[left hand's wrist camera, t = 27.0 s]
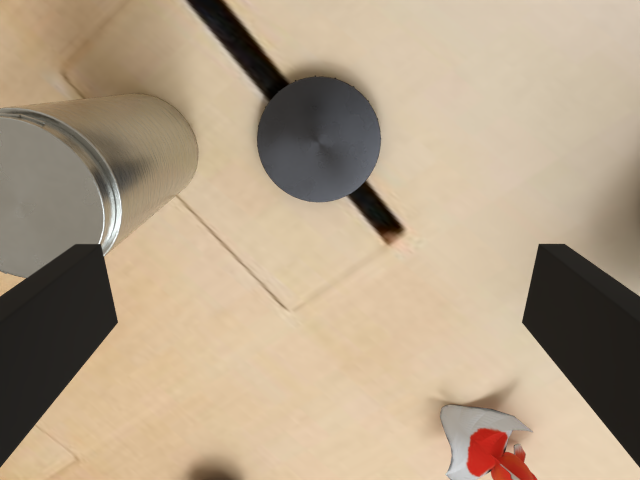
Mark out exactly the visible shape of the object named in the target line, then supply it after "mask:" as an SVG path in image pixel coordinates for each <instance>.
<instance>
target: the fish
mask: <svg viewBox="0 0 640 480" xmlns="http://www.w3.org/2000/svg"><path fill="white" fill-rule="evenodd" d="M440 418H441V422H442V425H443V428H444V431H445V434H446V436H447V439H448V441H449V444H450V446H451V452H452V458H451V464H450V467H449V469H448V472H447V473H446V474H445V475H446V476H447V477H448V478H449V479H450V480H477V479H478V478H480V477H482V476H484V475H485V474H487V473H489V472H490V471H491V475H492V478H493V480H537V478H536V477H535V476H534V475H533V474H532V473H531V472H530V470H529V468H528V467H527V466H526V464H525V463H524V460H525V452H524V451H523V449H522V447H521V445H520V444H516V445H514V454H512V453H509V452H505V450H506V446H507V442H508V438H509V436H510V434H511V433H512V431H513V430H524V431H530V432H533V431H531V430H530V429H529V428H528V427H527V426H525V425H524V424H523V423H522V422H520V421H519V420H518V419H517V418H516V417H514V416H512V415H509V414H505V413H502V412H499V411H496V410H493V409H486V408H478V407H467V406H460V405H446V406H444V407H442V409H441V414H440Z"/></svg>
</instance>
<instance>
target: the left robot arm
mask: <svg viewBox="0 0 640 480" xmlns="http://www.w3.org/2000/svg"><path fill="white" fill-rule="evenodd" d="M117 323H118V320H117V316H116V311H115V306H114V302H113V297H112V293H111V288H110V283H109V279H108V274H107V269H106V265H105V260H104V255H103V251H102V246H101V244H75V245H73V246H72V247H70V248H69V249H68V250H66V251H65V252H63V253H62V254H60V255H59V256H58V257H56V258H55V259H53V260H52V261H50V262H49V263H48V264H46V265H45V266H43V267H42V268H40V269H39V270H38V271H36V272H35V273H33V274H32V275H30V276H29V277H28V278H26V279H25V280H23V281H22V282H20V283H19V284H18V285H16V286H15V287H13V288H12V289H10V290H9V291H8V292H6V293H5V294H3V295H2V296H0V467H1V466H2V465H3V464H4V462H5V461H6V460H7V459H8V457H9V456H10V455H11V454H12V452H13V451H14V450H15V449H16V447H17V446H18V445H19V444H20V443H21V441H22V440H23V439H24V438H25V436H26V435H27V434H28V433H29V431H30V430H31V429H32V428H33V427H34V425H35V424H36V423H37V422H38V420H39V419H40V418H41V417H42V415H43V414H44V413H45V412H46V410H47V409H48V408H49V407H50V406H51V404H52V403H53V402H54V401H55V399H56V398H57V397H58V396H59V394H60V393H61V392H62V391H63V390H64V388H65V387H66V386H67V385H68V383H69V382H70V381H71V380H72V378H73V377H74V376H75V375H76V373H77V372H78V371H79V370H80V369H81V367H82V366H83V365H84V364H85V362H86V361H87V360H88V359H89V357H90V356H91V355H92V354H93V353H94V351H95V350H96V349H97V348H98V346H99V345H100V344H101V343H102V341H103V340H104V339H105V338H106V336H107V335H108V334H109V333H110V332H111V330H112V329H113V328H114V327H115V325H116V324H117ZM522 323H523V324H524V325H525V327H526V328H527V329H528V330H529V332H530V333H531V334H532V335H533V336H534V338H535V339H536V340H537V341H538V343H539V344H540V345H541V346H542V348H543V349H544V350H545V351H546V353H547V354H548V355H549V356H550V357H551V359H552V360H553V361H554V362H555V364H556V365H557V366H558V367H559V369H560V370H561V371H562V372H563V373H564V375H565V376H566V377H567V378H568V380H569V381H570V382H571V383H572V385H573V386H574V387H575V388H576V390H577V391H578V392H579V393H580V394H581V396H582V397H583V398H584V399H585V401H586V402H587V403H588V404H589V406H590V407H591V408H592V409H593V410H594V412H595V413H596V414H597V415H598V417H599V418H600V419H601V420H602V422H603V423H604V424H605V425H606V427H607V428H608V429H609V430H610V431H611V433H612V434H613V435H614V436H615V438H616V439H617V440H618V441H619V443H620V444H621V445H622V446H623V447H624V449H625V450H626V451H627V452H628V454H629V455H630V456H631V457H632V459H633V460H634V461H635V462H636V464H637V465H638V466H639V467H640V296H638V295H637V294H635V293H634V292H632V291H631V290H630V289H628V288H627V287H625V286H624V285H622V284H621V283H620V282H618V281H617V280H615V279H614V278H612V277H611V276H610V275H608V274H607V273H605V272H604V271H602V270H601V269H600V268H598V267H597V266H595V265H594V264H592V263H591V262H590V261H588V260H587V259H585V258H584V257H582V256H581V255H580V254H578V253H577V252H575V251H574V250H572V249H571V248H570V247H568V246H567V245H565V244H539V246H538V251H537V255H536V260H535V265H534V269H533V274H532V279H531V283H530V288H529V293H528V297H527V302H526V306H525V311H524V316H523V320H522Z"/></svg>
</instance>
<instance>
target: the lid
mask: <svg viewBox="0 0 640 480" xmlns="http://www.w3.org/2000/svg"><path fill="white" fill-rule="evenodd" d="M257 144H258V145H257V146H258V151H259V156H260V159H261V162H262V165H263V167H264V169H265V171H266V172H267V174H268V175H269V177H270V178H271V179H272V181H273V182H274V183H275V184H276V185H277V186H278V187H279V188H280V189H282V190H283V191H285V192H286V193H288V194H290V195H291V196H293V197H296V198H298V199H301V200H305V201H310V202H328V201H333V200H337V199H340V198H342V197H345V196H347V195H349V194H350V193H352V192H354V191H355V190H356V189H358V188H359V187H360V186H361V185H362V184H363V183H364V182H365V181H366V179H367V178H368V177H369V176H370V174H371V172H372V171H373V169H374V167H375V165H376V162H377V159H378V156H379V152H380V145H381V135H380V127H379V123H378V118H377V117H376V114H375V112H374V110H373V108H372V106H371V105H370V104H369V101H368V100H367V99H366V98H365V97H364V96H363V95H362V94H361V93H360V92H359V91H357V90H356V89H355V88H354V86H350V85H349V84H347V83H345V82H342V81H340V80H337V79H336V78H330V77H316V76H315V77H309V78H304V79H301V80H298V81H297V80H295V82H293V83H291V84H289V85H287V86H286V87H284V88H283V89H282V90H280V91H278V93H277V94H276V95H275V96H274V97H273V98H272V99H271V101H270V102H269V103H268V105H267V106H266V107H265V110H264V112H263V114H262V117H261V120H260V123H259V125H258V135H257Z"/></svg>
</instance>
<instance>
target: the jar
mask: <svg viewBox="0 0 640 480" xmlns="http://www.w3.org/2000/svg"><path fill="white" fill-rule="evenodd" d="M197 162H198V148H197V143H196V139H195V136H194V134H193V131H192V129H191V127H190V125H189V124H188V122H187V121H186V119H185V118H184V117H183V116H182V115H181V114H180V112H178V111H177V110H176V109H175V108H174V107H173V106H171V105H170V104H168V103H167V102H165V101H163V100H161V99H159V98H156V97H154V96H150V95H146V94H125V95H116V96H107V97H97V98H88V99H79V100H70V101H61V102H52V103H43V104H33V105H24V106H15V107H6V108H0V271H1V272H3V273H5V274H7V273H8V274H12V275H15V276H19V277H24V278H28V277H29V276H30V275H32V274H33V273H35V272H36V271H38V270H39V269H40V268H42V267H43V266H45V265H46V264H48V263H49V262H50V261H52V260H53V259H55V258H56V257H58V256H59V255H60V254H62V253H63V252H65V251H66V250H68V249H69V248H70V247H72V246H73V245H75V244H101V246H102V251H103V255H104V256H105V255H107V254H108V253H109V252H110V251H111V250H112V249H114V248H115V247H116V246H117V245H118V244H119V243H121V242H122V241H123V240H124V239H125V238H127V237H128V236H129V235H130V234H131V233H132V232H134V231H135V230H136V229H137V228H138V227H139V226H141V225H142V224H143V223H144V222H145V221H147V220H148V219H149V218H150V217H151V216H152V215H154V214H155V213H156V212H157V211H158V210H159V209H161V208H162V207H163V206H164V205H165V204H167V203H168V202H169V201H170V200H171V199H172V198H174V197H175V196H176V195H177V194H178V193H179V192H181V191H182V190H183V189H184V188H185V187H186V186H187V185H188V184H189V183H190V181H191V179H192V178H193V176H194V174H195V171H196V167H197Z"/></svg>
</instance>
